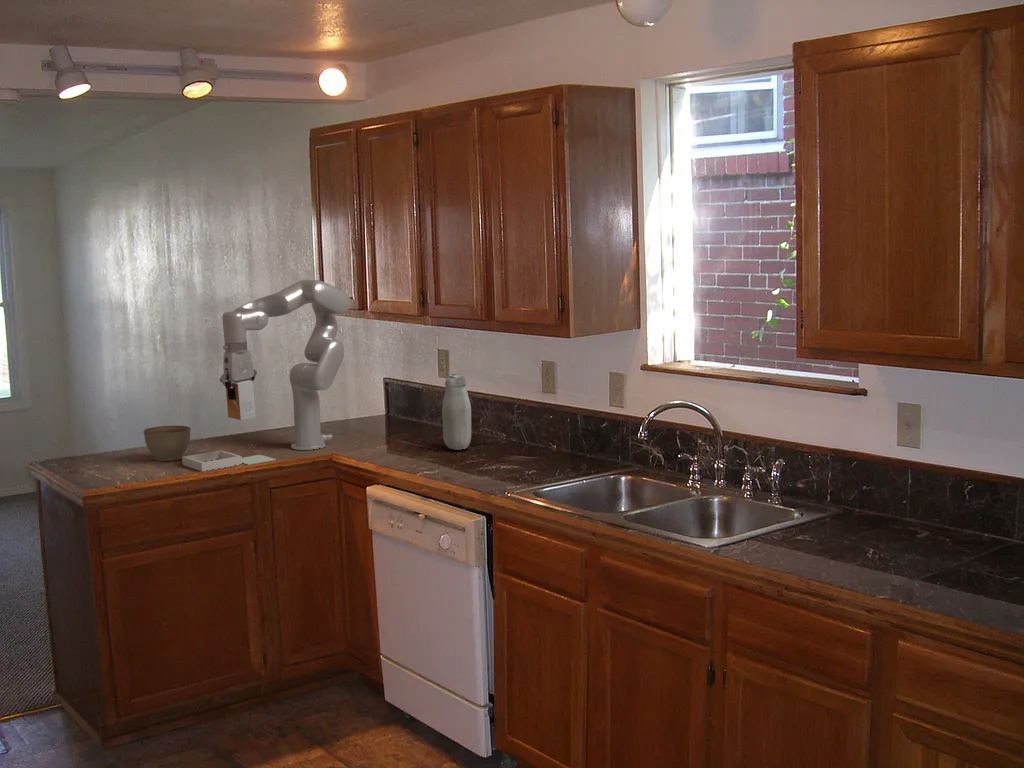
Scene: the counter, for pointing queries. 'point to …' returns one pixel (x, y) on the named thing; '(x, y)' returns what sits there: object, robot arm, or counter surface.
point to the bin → (199, 464)
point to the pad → (256, 459)
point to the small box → (242, 401)
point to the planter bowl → (167, 441)
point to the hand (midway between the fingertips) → (240, 397)
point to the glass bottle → (456, 413)
